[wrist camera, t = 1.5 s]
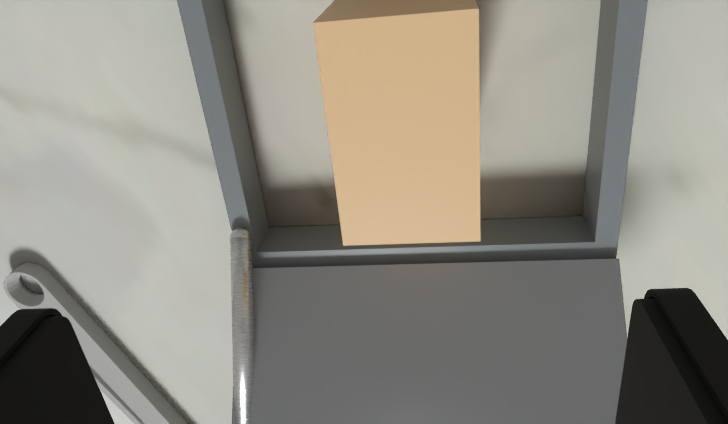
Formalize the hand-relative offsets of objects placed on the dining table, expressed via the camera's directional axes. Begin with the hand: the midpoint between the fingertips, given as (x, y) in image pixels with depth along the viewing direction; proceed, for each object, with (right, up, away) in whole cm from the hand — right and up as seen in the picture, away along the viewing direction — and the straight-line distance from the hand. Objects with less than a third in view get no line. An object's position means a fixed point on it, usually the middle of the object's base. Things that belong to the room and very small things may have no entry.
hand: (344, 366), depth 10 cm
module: (+2, +9, +17) cm, 19 cm away
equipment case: (+3, +4, +19) cm, 19 cm away
